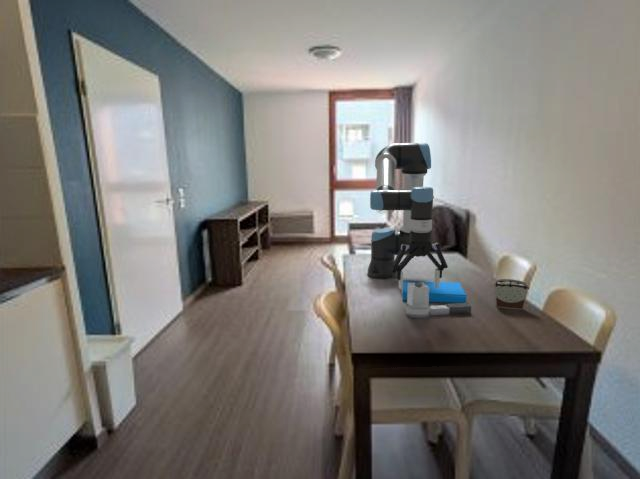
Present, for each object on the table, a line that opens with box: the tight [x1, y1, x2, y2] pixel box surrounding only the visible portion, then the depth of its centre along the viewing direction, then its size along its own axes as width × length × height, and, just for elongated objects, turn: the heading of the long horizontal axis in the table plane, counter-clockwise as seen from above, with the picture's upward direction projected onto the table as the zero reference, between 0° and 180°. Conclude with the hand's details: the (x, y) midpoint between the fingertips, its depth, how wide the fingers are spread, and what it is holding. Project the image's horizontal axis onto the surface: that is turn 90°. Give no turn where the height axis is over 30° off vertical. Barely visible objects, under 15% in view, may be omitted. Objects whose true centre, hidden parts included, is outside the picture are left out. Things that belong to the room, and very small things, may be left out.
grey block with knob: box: [406, 282, 430, 310], centre depth 141 cm, size 6×6×9 cm
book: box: [401, 280, 467, 304], centre depth 163 cm, size 17×4×25 cm
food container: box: [493, 278, 530, 311], centre depth 149 cm, size 12×6×10 cm, turn 71°
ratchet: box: [405, 302, 472, 320], centre depth 142 cm, size 9×24×7 cm, turn 95°
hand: (418, 287), depth 141 cm, fingers open, 13 cm apart
